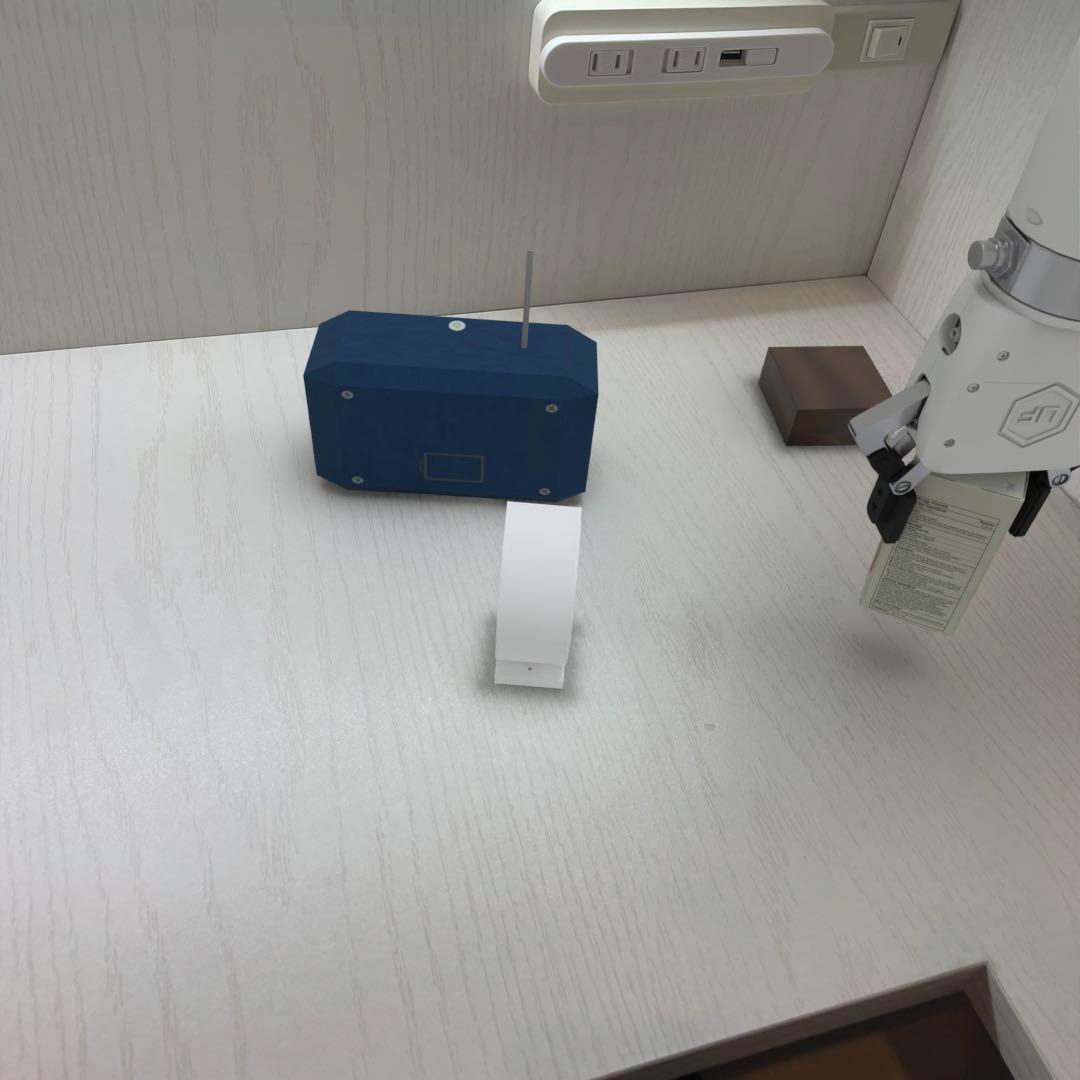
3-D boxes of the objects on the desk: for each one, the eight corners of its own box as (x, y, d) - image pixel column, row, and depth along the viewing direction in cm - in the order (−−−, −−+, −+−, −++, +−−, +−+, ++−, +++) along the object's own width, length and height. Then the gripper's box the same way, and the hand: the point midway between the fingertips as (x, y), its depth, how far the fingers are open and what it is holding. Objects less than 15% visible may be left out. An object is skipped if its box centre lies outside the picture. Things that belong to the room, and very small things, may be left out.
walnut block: (850, 381, 91) (863, 345, 88) (884, 443, 85) (900, 407, 82) (758, 382, 90) (768, 346, 87) (785, 446, 83) (797, 409, 81)
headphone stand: (565, 630, 68) (582, 507, 59) (562, 702, 64) (579, 581, 55) (499, 624, 68) (507, 500, 59) (492, 696, 64) (498, 574, 55)
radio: (582, 440, 82) (610, 221, 68) (583, 512, 76) (614, 288, 62) (335, 424, 82) (310, 200, 67) (316, 496, 75) (284, 266, 61)
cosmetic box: (961, 594, 65) (1038, 456, 56) (952, 640, 62) (1031, 503, 53) (865, 561, 66) (925, 422, 57) (852, 605, 63) (913, 466, 55)
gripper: (930, 311, 42) (826, 578, 55) (1290, 302, 44) (1109, 561, 57) (871, 225, 48) (788, 487, 60) (1196, 220, 50) (1049, 475, 62)
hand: (945, 522), depth 59 cm, fingers closed on cosmetic box, 7 cm apart
